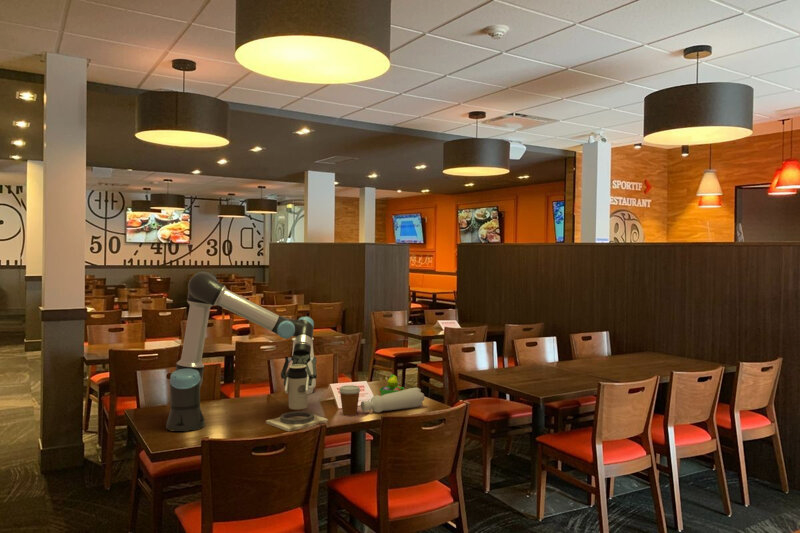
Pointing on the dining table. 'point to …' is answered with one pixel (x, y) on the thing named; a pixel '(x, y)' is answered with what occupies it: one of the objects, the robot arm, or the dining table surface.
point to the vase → (309, 367)
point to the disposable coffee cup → (349, 399)
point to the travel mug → (297, 387)
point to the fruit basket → (391, 386)
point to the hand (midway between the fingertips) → (296, 391)
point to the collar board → (294, 427)
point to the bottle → (394, 401)
